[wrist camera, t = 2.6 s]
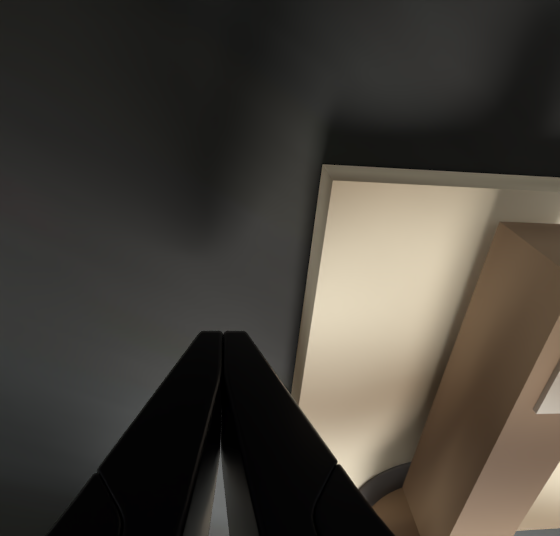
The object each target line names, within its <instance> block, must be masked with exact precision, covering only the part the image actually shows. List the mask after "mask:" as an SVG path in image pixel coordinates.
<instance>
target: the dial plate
mask: <svg viewBox="0 0 560 536" xmlns="http://www.w3.org/2000/svg"><path fill="white" fill-rule="evenodd" d="M499 222H523V223H548V224H560V177H542V176H524V175H506V174H488V173H470V172H452V171H434V170H417V169H399V168H381V167H363V166H345V165H327V164H322V172H321V179H320V186H319V194H318V201H317V208H316V216H315V223H314V230H313V238H312V245H311V252H310V260H309V267H308V274H307V282H306V289H305V296H304V304H303V311H302V318H301V326H300V333H299V340H298V348H297V355H296V362H295V370H294V377H293V384H292V392H291V396H292V397H293V399H294V400H295V401H296V403H297V404H298V406H299V407H300V408H301V410H302V411H303V413H304V414H305V415H306V417H307V418H308V420H309V421H310V422H311V424H312V425H313V427H314V428H315V429H316V431H317V432H318V434H319V435H320V437H321V438H322V439H323V441H324V442H325V444H326V445H327V446H328V448H329V449H330V451H331V452H332V453H333V455H334V456H335V458H336V459H337V461H338V463H337V464H340V465H341V466H342V467H343V469H344V470H345V471H346V473H347V474H348V476H349V477H350V478H351V480H352V481H353V483H354V484H355V486H356V487H357V488H358V489H359V491H360V492H361V493H362V495H363V496H364V497H365V499H366V500H367V501H368V503H369V504H370V505H371V507H372V506H373V505H374V504H375V503H376V502H377V501H379V500H380V499H381V498H383V497H384V496H386V495H387V494H389V493H391V492H393V491H395V490H397V489H399V488H402V487H403V484H404V481H405V478H406V476H407V473H408V470H409V467H410V465H411V462H412V459H413V456H414V454H415V451H416V448H417V446H418V443H419V440H420V437H421V435H422V432H423V429H424V426H425V424H426V421H427V418H428V415H429V413H430V410H431V407H432V404H433V402H434V399H435V396H436V394H437V391H438V388H439V385H440V383H441V380H442V377H443V374H444V372H445V369H446V366H447V363H448V361H449V358H450V355H451V353H452V350H453V347H454V344H455V342H456V339H457V336H458V333H459V331H460V328H461V325H462V322H463V320H464V317H465V314H466V311H467V309H468V306H469V303H470V301H471V298H472V295H473V292H474V290H475V287H476V284H477V281H478V279H479V276H480V273H481V270H482V268H483V265H484V262H485V259H486V257H487V254H488V251H489V249H490V246H491V243H492V240H493V238H494V235H495V232H496V229H497V227H498V224H499ZM552 528H560V462H559V463H558V465H557V467H556V468H555V470H554V471H553V473H552V475H551V476H550V478H549V479H548V481H547V483H546V484H545V486H544V487H543V489H542V491H541V492H540V494H539V495H538V497H537V499H536V500H535V502H534V503H533V505H532V506H531V508H530V510H529V511H528V513H527V514H526V516H525V518H524V519H523V521H522V522H521V524H520V526H519V527H518V529H517V530H516V531H521V530H537V529H552Z"/></svg>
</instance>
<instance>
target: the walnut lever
mask: <svg viewBox="0 0 560 536" xmlns="http://www.w3.org/2000/svg"><path fill="white" fill-rule="evenodd" d="M559 462H560V224H548V223H523V222H499V224H498V227H497V229H496V232H495V235H494V238H493V240H492V243H491V246H490V249H489V251H488V254H487V257H486V259H485V262H484V265H483V268H482V270H481V273H480V276H479V279H478V281H477V284H476V287H475V290H474V292H473V295H472V298H471V301H470V303H469V306H468V309H467V311H466V314H465V317H464V320H463V322H462V325H461V328H460V331H459V333H458V336H457V339H456V342H455V344H454V347H453V350H452V353H451V355H450V358H449V361H448V363H447V366H446V369H445V372H444V374H443V377H442V380H441V383H440V385H439V388H438V391H437V394H436V396H435V399H434V402H433V404H432V407H431V410H430V413H429V415H428V418H427V421H426V424H425V426H424V429H423V432H422V435H421V437H420V440H419V443H418V446H417V448H416V451H415V454H414V456H413V459H412V462H411V465H410V467H409V470H408V473H407V476H406V478H405V481H404V484H403V487H402V488H399V489H397V490H395V491H393V492H391V493H389V494H387V495H386V496H384V497H383V498H381V499H380V500H379V501H377V502H376V503H375V504H374V505H373V506H372V508H373V509H374V511H375V512H376V513H377V515H378V516H379V517H380V518H381V519H382V520H383V522H384V523H385V524H386V525H387V526H388V527H389V529H390V530H391V531H392V532H393V533H394V535H395V536H513V535H514V534H515V532H516V530H517V529H518V527H519V526H520V524H521V522H522V521H523V519H524V518H525V516H526V514H527V513H528V511H529V510H530V508H531V506H532V505H533V503H534V502H535V500H536V499H537V497H538V495H539V494H540V492H541V491H542V489H543V487H544V486H545V484H546V483H547V481H548V479H549V478H550V476H551V475H552V473H553V471H554V470H555V468H556V467H557V465H558V463H559Z"/></svg>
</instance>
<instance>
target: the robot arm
mask: <svg viewBox="0 0 560 536" xmlns="http://www.w3.org/2000/svg"><path fill="white" fill-rule="evenodd" d="M221 410H222V412H221ZM220 442H221V457H222V469H223V479H224V488H225V498H226V507H227V517H228V526H229V536H395V535H394V533H393V532H392V531H391V530H390V529H389V527H388V526H387V525H386V524H385V523H384V522H383V520H382V519H381V518H380V517H379V516H378V515H377V513H376V512H375V511H374V509H373V508H372V507H371V505H370V504H369V503H368V501H367V500H366V499H365V497H364V496H363V495H362V493H361V492H360V491H359V489H358V488H357V487H356V486H355V484H354V483H353V481H352V480H351V478H350V477H349V476H348V474H347V473H346V471H345V470H344V469H343V467H342V466H341V465H340V464H337V463H338V461H337V459H336V458H335V456H334V455H333V453H332V452H331V451H330V449H329V448H328V446H327V445H326V444H325V442H324V441H323V439H322V438H321V437H320V435H319V434H318V432H317V431H316V429H315V428H314V427H313V425H312V424H311V422H310V421H309V420H308V418H307V417H306V415H305V414H304V413H303V411H302V410H301V408H300V407H299V406H298V404H297V403H296V401H295V400H294V399H293V397H292V396H291V394H290V393H289V391H288V390H287V389H286V387H285V386H284V384H283V383H282V382H281V380H280V379H279V377H278V376H277V375H276V373H275V372H274V370H273V369H272V368H271V366H270V365H269V363H268V362H267V361H266V359H265V358H264V356H263V355H262V353H261V352H260V351H259V349H258V348H257V346H256V345H255V344H254V342H253V341H252V339H251V338H250V337H249V335H248V334H247V333H246V332H245V331H226V332H225V333H224V335H223V333H222V332H221V331H201V332H200V333H199V334H198V335H197V337H196V338H195V339H194V341H193V342H192V343H191V345H190V346H189V347H188V349H187V350H186V351H185V353H184V354H183V355H182V357H181V358H180V359H179V361H178V362H177V363H176V365H175V366H174V367H173V369H172V370H171V371H170V373H169V374H168V375H167V377H166V378H165V379H164V381H163V382H162V383H161V385H160V386H159V387H158V389H157V390H156V391H155V393H154V394H153V395H152V397H151V398H150V399H149V401H148V402H147V403H146V405H145V406H144V407H143V409H142V410H141V411H140V413H139V414H138V415H137V417H136V418H135V419H134V421H133V422H132V423H131V425H130V426H129V427H128V429H127V430H126V431H125V433H124V434H123V435H122V437H121V438H120V439H119V441H118V442H117V443H116V445H115V446H114V447H113V449H112V450H111V452H110V453H109V454H108V456H107V457H106V458H105V460H104V461H103V462H102V464H101V465H100V466H99V468H98V469H97V473H95V474H93V475H92V476H91V478H90V479H89V480H88V482H87V483H86V485H85V486H84V487H83V489H82V490H81V491H80V493H79V494H78V495H77V497H76V498H75V499H74V500H73V502H72V503H71V504H70V505H69V507H68V508H67V509H66V511H65V512H64V513H63V514H62V516H61V517H60V518H59V519H58V521H57V522H56V523H55V524H54V526H53V527H52V528H51V529H50V531H49V532H48V533H47V534H46V535H45V536H208V534H209V527H210V521H211V514H212V507H213V500H214V493H215V486H216V479H217V472H218V465H219V457H220Z"/></svg>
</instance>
